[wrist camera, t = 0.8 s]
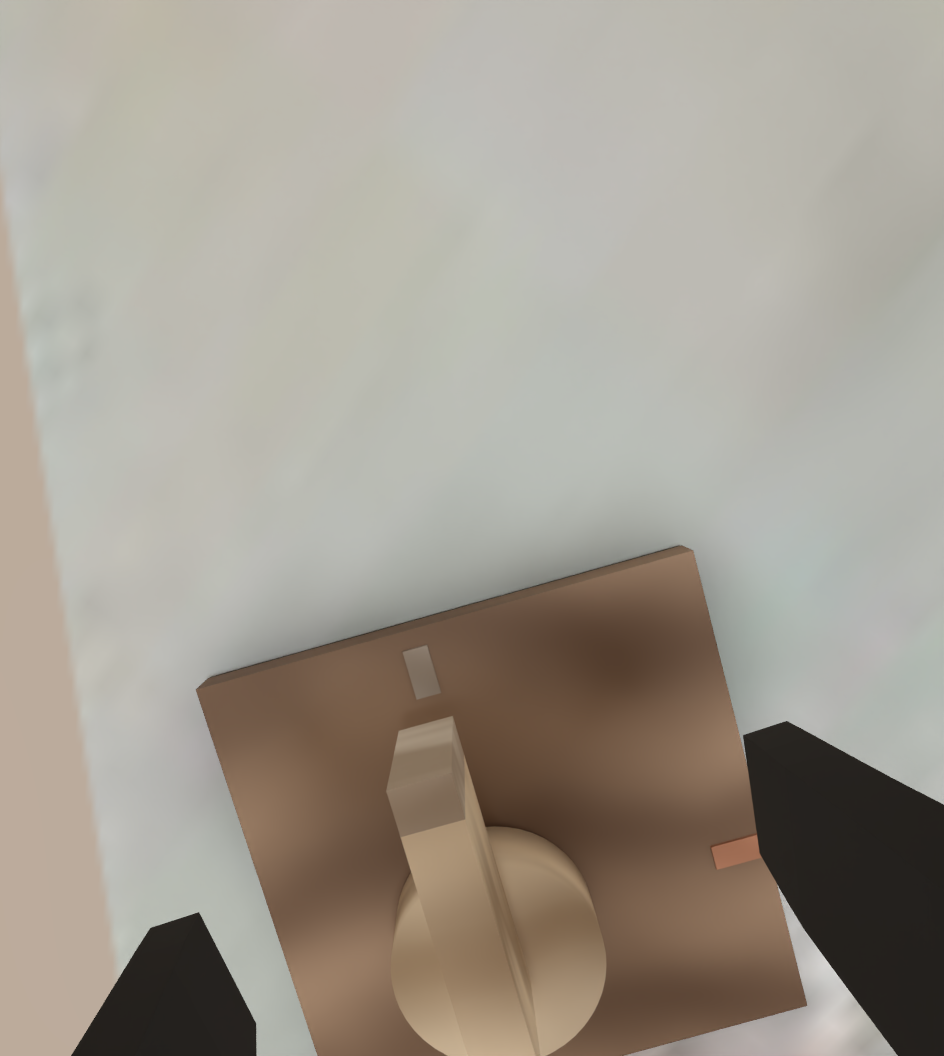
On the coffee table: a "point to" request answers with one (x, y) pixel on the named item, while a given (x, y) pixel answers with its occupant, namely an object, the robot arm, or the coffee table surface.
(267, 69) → the coffee table surface
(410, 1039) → the plate
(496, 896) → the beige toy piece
